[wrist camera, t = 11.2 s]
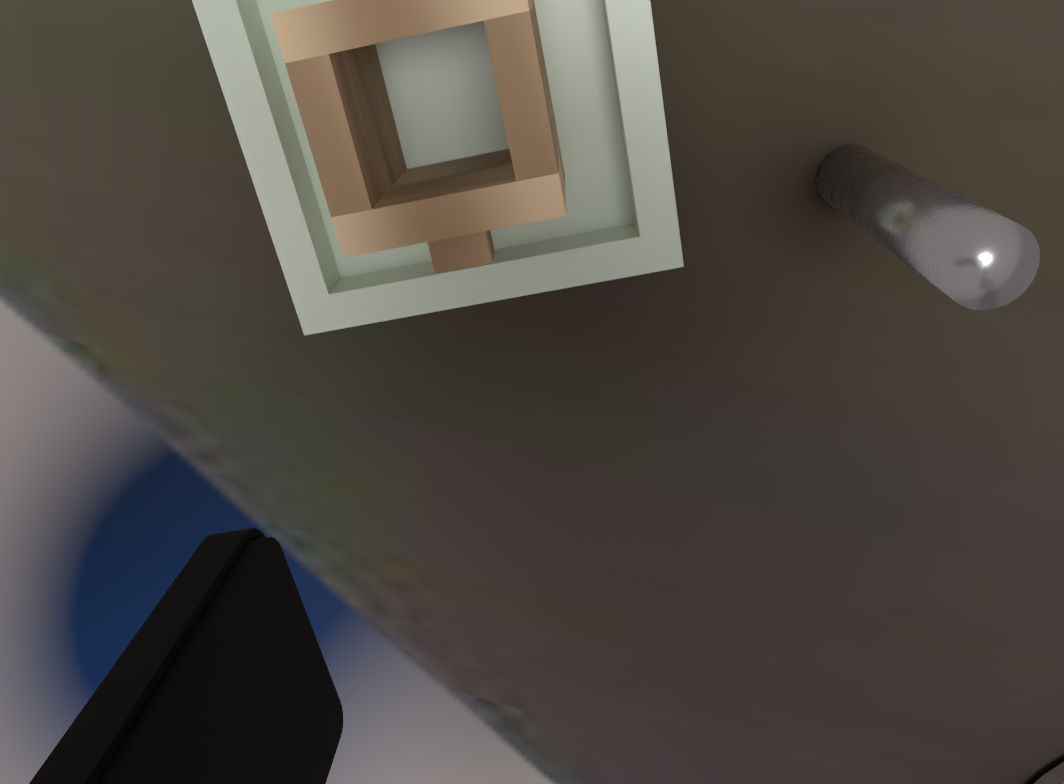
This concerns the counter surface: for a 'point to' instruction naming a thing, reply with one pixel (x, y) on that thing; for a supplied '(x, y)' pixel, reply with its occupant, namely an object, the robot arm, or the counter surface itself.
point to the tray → (457, 132)
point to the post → (932, 228)
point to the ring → (373, 143)
